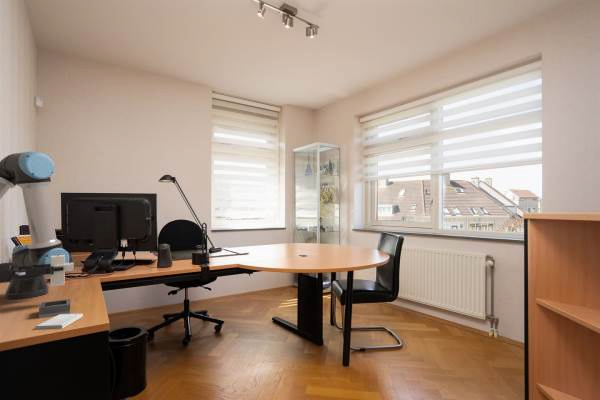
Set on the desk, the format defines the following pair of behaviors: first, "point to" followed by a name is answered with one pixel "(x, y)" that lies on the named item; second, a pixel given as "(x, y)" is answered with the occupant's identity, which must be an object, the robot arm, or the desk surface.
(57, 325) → the hard drive
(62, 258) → the block
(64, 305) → the socket dock
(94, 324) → the desk surface
